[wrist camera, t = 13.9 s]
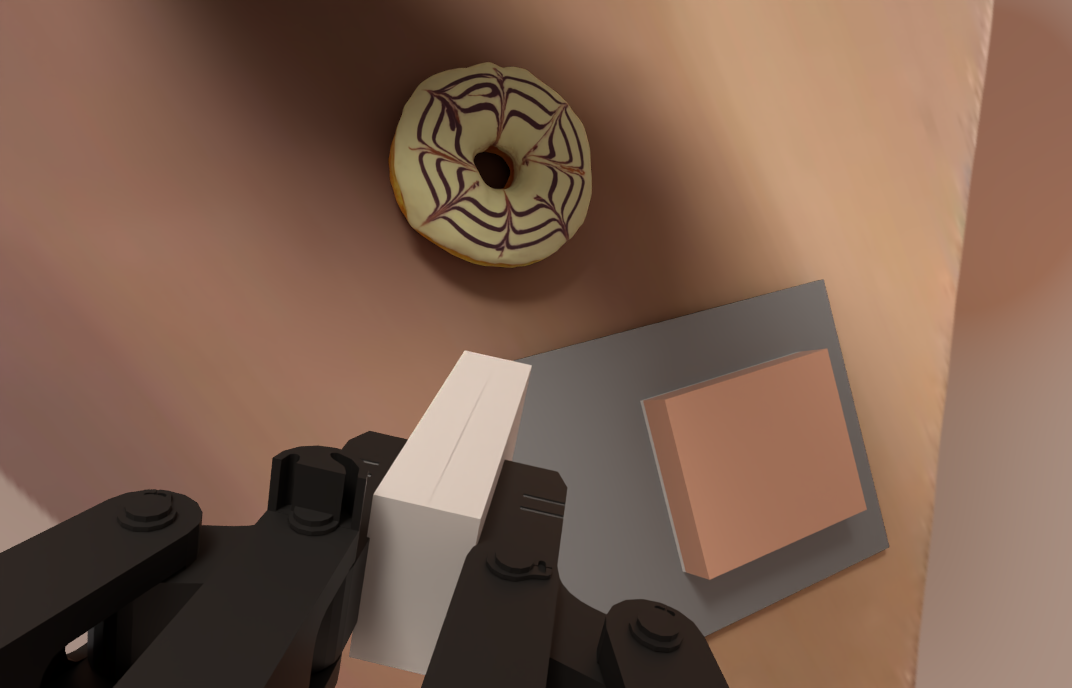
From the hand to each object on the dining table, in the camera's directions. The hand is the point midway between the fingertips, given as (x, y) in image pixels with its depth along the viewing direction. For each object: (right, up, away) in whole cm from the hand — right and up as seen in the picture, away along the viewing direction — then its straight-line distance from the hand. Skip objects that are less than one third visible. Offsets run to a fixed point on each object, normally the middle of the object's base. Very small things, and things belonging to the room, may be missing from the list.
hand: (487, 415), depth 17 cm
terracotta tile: (+9, -6, +25) cm, 28 cm away
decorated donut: (-2, +11, +25) cm, 27 cm away
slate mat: (+11, -6, +28) cm, 31 cm away
